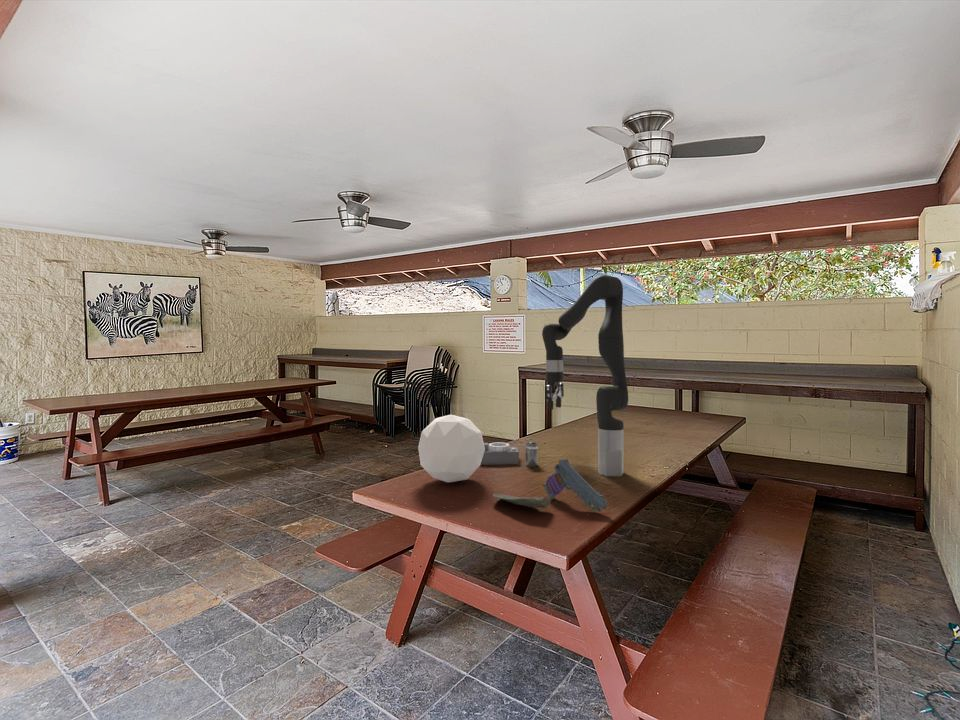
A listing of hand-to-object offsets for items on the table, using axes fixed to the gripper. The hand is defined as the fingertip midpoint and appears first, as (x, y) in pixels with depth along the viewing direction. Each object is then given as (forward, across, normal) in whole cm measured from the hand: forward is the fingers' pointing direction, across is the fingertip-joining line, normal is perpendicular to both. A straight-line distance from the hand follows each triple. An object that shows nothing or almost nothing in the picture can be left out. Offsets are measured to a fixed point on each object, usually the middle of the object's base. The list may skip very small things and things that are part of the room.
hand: (554, 408), depth 213 cm
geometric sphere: (+23, -49, +20) cm, 58 cm away
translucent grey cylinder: (+22, -16, +3) cm, 28 cm away
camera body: (+22, -17, +18) cm, 33 cm away
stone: (+20, -65, -13) cm, 70 cm away
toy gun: (+26, -49, -24) cm, 61 cm away
